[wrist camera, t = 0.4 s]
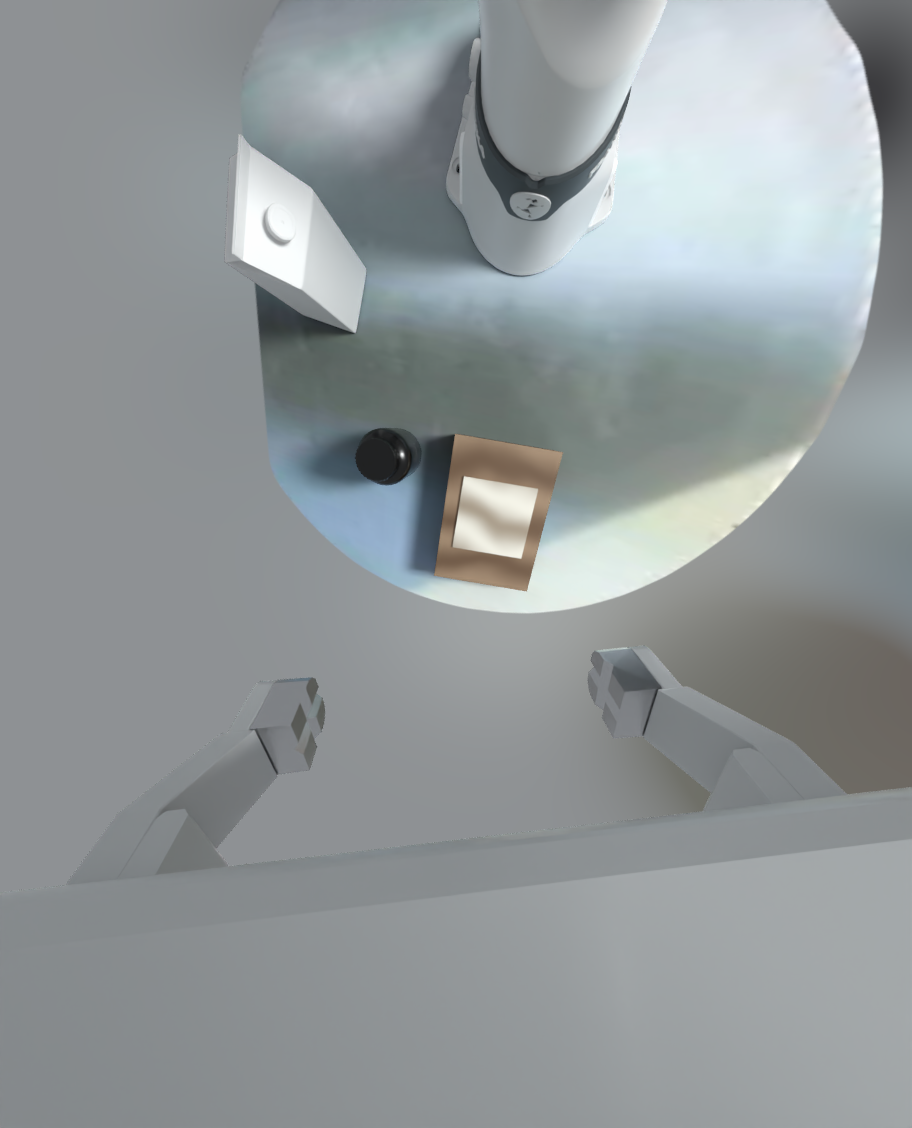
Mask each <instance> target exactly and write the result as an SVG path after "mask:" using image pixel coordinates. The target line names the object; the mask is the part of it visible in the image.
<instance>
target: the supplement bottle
mask: <svg viewBox="0 0 912 1128" xmlns="http://www.w3.org/2000/svg"><path fill="white" fill-rule="evenodd" d="M355 459H356V464H357V467H358V469H359V471H360V472H361V474H363V475H364V477H367V479H370V480H371V481H373V482H374V483H377V484H380V485H393V484H396V483H398V482H400V481H402V480H403V479H405V478H406V477H408V476H409V475H411V474H412V473H414V472H415V471H416V469H417V468H418V466H419V464H420V461H421V448H420V445H419V442H418V441H417V439H416V438H415V437H414V436H413V435H412V434H411V433H410V432H408V431H406V430H404V429H399V428H379V429H375V430H372V431H370V432H369V433H367V434H366V435H365V436H364V437H363V438H362V440H361V442H360V444H359V446H358V449H357V453H356V458H355Z"/></svg>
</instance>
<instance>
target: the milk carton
mask: <svg viewBox="0 0 912 1128" xmlns="http://www.w3.org/2000/svg"><path fill="white" fill-rule="evenodd" d="M224 262H225V263H227V264H228V265H230V266H231V267H233V268H234V269H236V270H237V271H239V272H240V273H241V274H243V275H245V276H246V277H247V278H249V279H250V280H252V281H253V282H255V283H256V284H258V285H259V286H261V287H262V288H264V289H265V290H267V291H268V292H270V293H271V294H273V295H274V296H275V297H277V298H278V299H280V300H281V301H283V302H284V303H286V304H287V305H289V306H290V307H292V308H293V309H295V310H296V311H298V312H299V313H301V314H302V315H304V316H307V317H310V318H313V319H316V320H318V321H321V322H324V323H327V324H330V325H333V326H335V327H338V328H341V329H344V330H347V331H350V332H353V333H356V330H357V324H358V319H359V313H360V307H361V301H362V296H363V290H364V284H365V278H366V272H367V269H366V267H365V266H364V264H363V263H362V261H361V260H360V259H359V257H358V256H357V254H356V253H355V251H354V250H353V248H352V247H351V245H350V244H349V242H348V241H347V239H346V238H345V236H344V235H343V233H342V232H341V230H340V229H339V227H338V226H337V224H336V223H335V221H334V220H333V218H332V217H331V216H330V214H329V213H328V211H327V210H326V208H325V207H324V205H323V204H322V202H321V201H320V199H319V198H318V196H317V195H316V193H315V192H314V191H313V189H312V188H311V187H309V186H308V185H307V184H305V183H304V182H302V181H301V180H299V179H298V178H296V177H295V176H293V175H292V174H291V173H289V172H288V171H286V170H285V169H283V168H282V167H280V166H279V165H277V164H276V163H275V162H273V161H272V160H270V159H269V158H267V157H266V156H264V155H263V154H261V153H260V152H259V151H257V150H256V149H254V148H253V147H251V146H250V145H249V144H248V142H247V141H246V140H245V139H244V137H243V136H242V135H241V134H239V135H238V152H237V153H236V154H235V155H233V156H232V157H230V158H229V175H228V195H227V215H226V235H225V257H224Z"/></svg>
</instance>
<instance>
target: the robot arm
mask: <svg viewBox="0 0 912 1128" xmlns="http://www.w3.org/2000/svg"><path fill="white" fill-rule="evenodd" d="M667 1H668V0H478V4H479V18H480V35H481V39H480V38H475V39H474V42H473V45H472V50H471V55H470V62H469V78H470V80H472V82H471V86H470V89H469V93H468V95H467V94H466V95H465V98H464V102H463V109H462V120H461V123H460V127H459V131H458V135H457V139H456V142H455V146H454V150H453V154H452V158H451V161H450V165H449V169H448V173H447V177H446V191H447V194H448V196H449V198H450V199H451V201H452V202H453V203H454V204H455V206H456V207H457V208H458V209H459V210H460V211H461V212H462V214H463V216H464V218H465V220H466V222H467V225H468V228H469V231H470V234H471V237H472V239H473V241H474V243H475V245H476V247H477V248H478V250H479V251H480V253H481V254H482V255H483V256H484V258H485V259H486V260H487V261H488V262H489V263H491V264H492V265H493V266H494V267H496V268H498V269H499V270H501V271H504V272H506V273H509V274H513V275H532V274H537V273H540V272H542V271H545V270H547V269H549V268H551V267H552V266H554V265H555V264H557V263H558V262H559V261H560V260H562V259H563V258H564V257H565V256H566V255H567V254H568V253H569V252H570V250H571V249H572V248H573V247H574V245H575V244H576V243H577V242H578V241H579V239H580V238H581V237H582V236H584V235H585V234H587V233H588V232H590V231H592V230H594V229H596V228H597V227H599V226H600V225H602V224H603V223H604V222H605V221H606V220H607V218H608V217H609V214H610V212H611V209H612V205H613V195H614V185H615V174H616V167H617V163H618V160H617V153H618V143H619V133H620V126H621V123H622V119H623V117H624V112H625V110H626V107H627V104H628V100H629V96H630V91H631V85H632V83H633V81H634V78H635V76H636V74H637V72H638V69H639V67H640V65H641V63H642V60H643V58H644V56H645V53H646V51H647V49H648V47H649V44H650V42H651V40H652V38H653V35H654V33H655V31H656V29H657V26H658V24H659V22H660V19H661V17H662V15H663V12H664V10H665V7H666V4H667ZM458 168H460V174H459V173H457V169H458ZM604 196H605V197H604ZM591 662H592V664H593V666H594V667H593V668H592V669H591V670H590V671H589V674H588V687H589V692H590V695H591V697H592V699H593V701H594V703H595V705H597V706H598V707H599V708H601V709H602V710H603V715H602V719H603V720H604V722H605V724H606V726H607V728H608V730H609V732H610V733H611V735H612V737H613V738H623V737H637V736H644V737H643V738H644V739H646V740H647V741H648V742H649V743H651V744H652V745H653V746H654V747H655V748H657V749H658V750H659V751H660V752H661V753H663V754H664V755H665V756H666V757H668V758H669V759H670V760H671V761H672V762H674V763H675V764H676V765H677V766H678V767H680V768H681V769H682V770H683V771H685V772H686V773H687V774H688V775H689V776H691V777H692V778H693V779H694V780H696V781H697V782H698V783H699V784H700V785H702V786H703V787H704V788H705V789H706V790H708V791H709V792H710V793H711V795H710V797H709V799H708V801H707V803H706V805H705V807H704V810H703V812H695V813H686V814H677V815H668V816H659V817H651V818H643V819H633V820H625V821H617V822H607V823H599V824H591V825H581V826H573V827H564V828H555V829H547V830H538V831H529V832H521V833H512V834H503V835H494V836H486V837H477V838H469V839H460V840H452V841H443V842H434V843H426V844H418V845H409V846H400V847H392V848H384V849H374V850H366V851H357V852H349V853H340V854H331V855H323V856H314V857H305V858H297V859H288V860H279V861H271V862H262V863H254V864H245V865H237V866H228V864H227V862H226V861H225V860H224V858H223V857H222V856H221V854H220V853H219V852H218V851H217V849H216V848H217V847H218V846H219V845H220V844H221V842H222V841H223V840H224V839H225V838H226V836H227V835H228V834H229V833H230V832H231V831H232V829H233V828H234V827H235V826H236V825H237V823H238V822H239V821H240V820H241V819H242V818H243V816H244V815H245V814H246V813H247V812H248V811H249V809H250V808H251V807H252V806H253V805H254V804H255V802H256V801H257V800H258V799H259V798H260V797H261V795H262V794H263V793H264V792H265V791H266V789H267V788H268V787H269V786H270V785H271V784H272V782H273V781H274V780H275V779H276V778H277V775H278V774H285V773H292V772H300V771H308V770H310V768H311V765H312V761H313V758H314V755H315V752H316V748H317V745H316V743H315V740H314V739H315V738H316V737H317V736H318V735H319V734H320V733H321V732H322V729H323V725H324V719H325V706H324V701H323V698H322V697H320V696H319V695H318V694H316V693H317V690H318V684H317V682H316V679H315V678H298V679H284V680H275V681H260V682H258V683H257V684H256V685H255V686H254V687H253V689H252V691H251V692H250V694H249V696H248V698H247V699H246V701H245V703H244V704H243V706H242V708H241V710H240V711H239V713H238V715H237V716H236V718H235V720H234V722H233V724H232V725H231V727H230V729H229V730H228V732H226V733H221V734H220V735H218V736H217V737H216V738H214V739H213V740H212V741H211V742H209V743H208V744H207V745H205V746H204V747H203V748H202V749H200V750H199V751H198V752H197V753H195V754H194V755H193V756H191V757H190V758H189V759H187V760H186V761H185V762H184V763H182V764H181V765H180V766H178V767H177V768H176V769H175V770H173V771H172V772H171V773H169V774H168V775H167V776H166V777H164V778H163V779H162V780H160V781H159V782H158V783H157V784H155V785H154V786H153V787H151V788H150V789H149V790H148V791H146V792H145V793H144V794H142V795H141V796H140V797H138V798H137V799H136V800H135V801H133V802H132V803H131V804H130V805H128V806H127V807H126V808H125V809H123V810H122V811H120V812H119V813H118V814H117V815H116V816H115V818H114V819H113V821H112V822H111V823H110V825H109V826H108V827H107V829H106V830H105V831H104V833H103V834H102V836H101V837H100V838H99V840H98V841H97V842H96V844H95V845H94V846H93V848H92V849H91V851H90V852H89V853H88V855H87V856H86V857H85V859H84V860H83V862H82V863H81V864H80V866H79V867H78V868H77V870H76V871H75V873H74V874H73V875H72V877H71V878H70V879H69V881H68V882H67V884H66V885H63V886H54V887H45V888H37V889H28V890H19V891H10V892H2V893H0V1128H912V787H910V788H901V789H892V790H883V791H875V792H866V793H857V794H849V795H847V794H846V793H845V792H844V791H843V790H842V789H841V788H840V787H839V786H838V785H837V784H836V783H835V782H834V781H833V780H832V779H831V778H830V777H829V776H827V774H826V773H825V772H824V771H822V770H821V769H820V768H819V767H818V766H817V765H816V764H815V763H814V762H813V761H812V760H811V759H810V758H809V757H808V756H807V755H806V754H805V753H804V752H803V751H802V750H801V749H800V748H799V747H798V746H797V745H796V744H795V743H794V742H792V741H790V740H789V739H786V738H785V737H783V736H781V735H779V734H777V733H775V732H773V731H771V730H769V729H767V728H766V727H764V726H762V725H760V724H758V723H756V722H754V721H752V720H750V719H749V718H747V717H745V716H743V715H741V714H739V713H737V712H735V711H733V710H731V709H729V708H727V707H726V706H724V705H722V704H720V703H718V702H716V701H714V700H712V699H710V698H709V697H707V696H705V695H703V694H701V693H699V692H697V691H695V690H693V689H691V688H689V687H682V686H681V685H680V684H679V682H678V681H677V680H676V679H675V678H674V676H673V675H672V674H671V673H670V672H669V671H668V670H667V668H666V667H665V666H664V665H663V664H662V663H661V661H660V660H659V659H658V658H657V657H656V656H655V654H654V653H653V652H652V651H651V650H650V649H649V648H648V647H647V646H635V647H627V648H616V649H607V650H597V651H594V652H593V653H592V657H591Z"/></svg>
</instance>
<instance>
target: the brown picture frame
mask: <svg viewBox="0 0 912 1128" xmlns="http://www.w3.org/2000/svg"><path fill="white" fill-rule="evenodd" d="M562 454H563V452H559V451H554V450H548V449H543V448H537V447H531V446H525V445H519V444H513V443H507V442H502V441H496V440H490V439H484V438H478V437H472V436H467V435H461V434H455V438H454V445H453V452H452V459H451V465H450V472H449V479H448V486H447V492H446V499H445V506H444V513H443V519H442V526H441V533H440V540H439V547H438V553H437V560H436V567H435V574H434V576H439V577H445V578H451V579H457V580H463V581H469V582H475V583H480V584H486V585H492V586H498V587H504V588H510V589H516V590H522V591H527V588H528V584H529V580H530V577H531V573H532V569H533V565H534V561H535V557H536V554H537V550H538V546H539V542H540V538H541V534H542V531H543V527H544V523H545V519H546V515H547V511H548V507H549V504H550V500H551V496H552V492H553V488H554V484H555V481H556V477H557V473H558V469H559V465H560V461H561V458H562Z"/></svg>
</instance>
